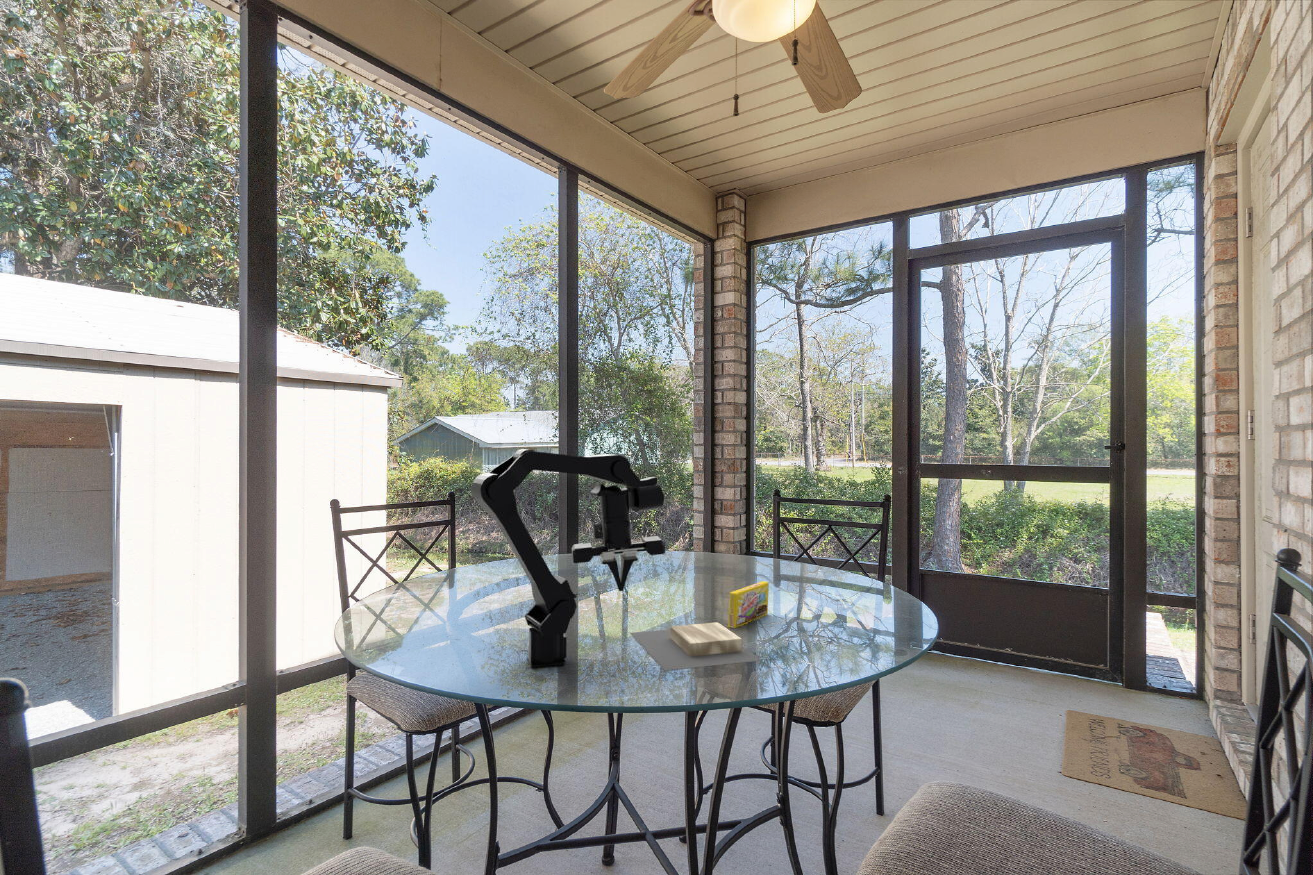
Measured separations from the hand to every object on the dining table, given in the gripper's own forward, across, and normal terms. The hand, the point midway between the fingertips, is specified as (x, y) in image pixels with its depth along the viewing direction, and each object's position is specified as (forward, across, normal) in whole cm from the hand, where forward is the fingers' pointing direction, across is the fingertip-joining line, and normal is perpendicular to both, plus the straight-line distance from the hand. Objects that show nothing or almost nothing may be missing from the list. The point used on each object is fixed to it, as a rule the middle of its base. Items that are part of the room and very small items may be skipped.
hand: (620, 590), depth 131 cm
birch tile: (+11, -11, +2) cm, 16 cm away
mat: (+13, -14, +2) cm, 19 cm away
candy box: (+15, -31, -14) cm, 38 cm away
